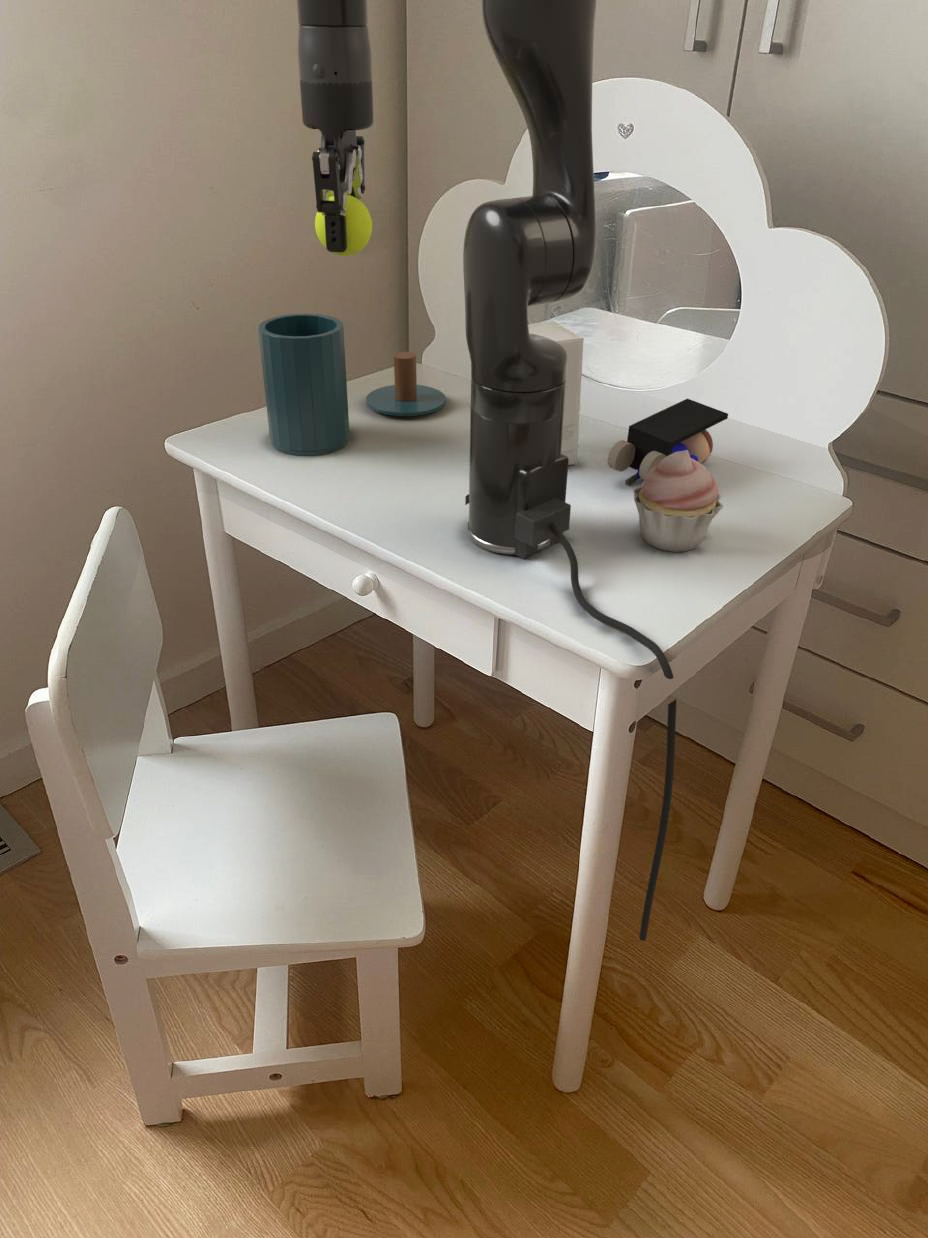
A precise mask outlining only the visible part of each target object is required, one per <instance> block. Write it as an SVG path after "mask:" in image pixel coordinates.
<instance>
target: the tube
mask: <svg viewBox="0 0 928 1238" xmlns="http://www.w3.org/2000/svg"><path fill="white" fill-rule="evenodd" d="M257 329H258V330H257V331H258V338H259V339H258V340H259V349H260V359H261V368H262V369H261V370H262V376H263V386H264V387H263V388H264V394H265V395H264V396H265V404H266V414H267V415H266V416H267V424H268V433H269V440H270V445H271V446H272V447H273V448H274V449H275V450H277V451H279V452H281V453H283V454H287V455H292V456H300V457H302V456H303V457H307V456H308V457H312V456H322V455H326V454H327V455H328V454H331V453H334V452H336V451H337V452H338V451H339V450H341V449H343V448H344V447H346V446H347V445H348V444H349V442H350V440H351V439H350V438H351V436H350V435H351V434H350V420H349V403H348V402H349V401H348V385H347V384H348V382H347V367H346V351H345V350H346V349H345V347H346V346H345V333H344V331H345V330H344V322H343V321H342V320H341V319H339V318H336V317H334V316H330V315H326V314H319V313H292V314H283V315H278V316H274V317H273V316H272V317H270V318H268V319H265V320H263V321H262V322H261V323H259V324H258V328H257Z"/></svg>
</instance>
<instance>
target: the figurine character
mask: <svg viewBox="0 0 928 1238" xmlns="http://www.w3.org/2000/svg"><path fill="white" fill-rule="evenodd" d="M728 418H729V413H727V412H725V411H722V410H720V409H716V408H714V407H712V406H709V405H706V404H703V403H701V402H698V401H695V400H692V399H690V398H685V399H684V400H683V399H682V400H681V401H679V402H677V403H675V404H673V405H671V406H668V407H666V408H664V409H661V410H660V411H657V412H656V413H653V414H652V415H649V416H647V417H645V418H643V419H640V420H639V421H637V422H635V423H632V424H630V425H628V433H627V439H626V440H624V439H621V440H618V441H616V442H615V443H614V444H613V446H612V447H611V448H610V450H609V452H608V455H607V466H608V467H609V468H610V469H613V470H615V471H617V472H624V471H626V470H627V469H628V468H631V469H633V470H636V473H635V474H633V475H631V476H629V477H628V478H627V479H625V480H624V485H626V486H631V485H632V484H634V483H636V482H637V481H638V480H641V479H642V480H643V481H644V479H645V476H646V474H647V473H648V472H649V471H650V469H652V468H653V467H655V466H657V465H659V463H660V462H661V460H662V459H664V458H665V457H667V456H669V455H671V454H673V453H675V452H680V451H685V450H688V452H689V455H690V458H692V459H694V460H695V461H697V462H699V463H700V464H703V463H704V462H706V461H707V460H708V459H709V458H710V456H711V454H712V452H713V448H714V442H713V437H712V435H711V433H710V432H709V431H708V430H707V429H710V428H711V427H714V426H716V425H717V424H720V423H722V422H723V421H726V420H727V419H728Z"/></svg>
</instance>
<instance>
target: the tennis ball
mask: <svg viewBox="0 0 928 1238" xmlns="http://www.w3.org/2000/svg"><path fill="white" fill-rule="evenodd" d="M329 201H334V195H332V196H329ZM346 209H347V212H346V215H345V216H346V232H347V249H346V250H345V251H344V252H331V253H333V254H334V255H338V256H341V257H345V256H352V255H355V254H357V253H359V252H361V251H362V250H363V249H364V248H365V247H366V246H367V244H368V243H369V241H370V239H371V236H372V231H373V221H372V217H371V214H370V211H369V210H368V207H367V206H366V205H365V204H364V203H363V202H362V200H361V201H360V200H358V199H357V198H355V197H353V196H350V195H348V196H347V202H346ZM314 228H315V233H316V236H317V238H318V241H319V243H321V245H322V246H323V247H324V248H325V249H326V250H327V248H326V234H325V217H324V215H322V213H321V212H318V211H317V210H316V214H315V217H314Z"/></svg>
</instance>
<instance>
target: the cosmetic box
mask: <svg viewBox="0 0 928 1238" xmlns="http://www.w3.org/2000/svg"><path fill="white" fill-rule="evenodd" d="M528 328H529V333H531V334H535V335H539V336H543V337H546V338H549V339H552V340H554V341H556V342H557V343H559V344H561V345H562V346H563V347H564V348H565V350H566V352H567V356H568V367H567V378H566V379H567V380H566V394H565V407H564V420H563V434H562V448H561V454H563V455H566V456H567V457H568V459H569V462H568V466H573V465H576V464H578V450H579V433H580V432H579V429H580V413H581V412H580V410H581V395H582V393H581V392H582V375H583V374H582V372H583V353H584V340H585V339H584V337H582V336H581V335H579V334H577V333H575V332H573V331H571V330H570V329H568V328H566V327H564V326H563V325H561V324H559V323H557V322H556V321H554V320H548V321H540V322H533V323H528Z"/></svg>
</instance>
